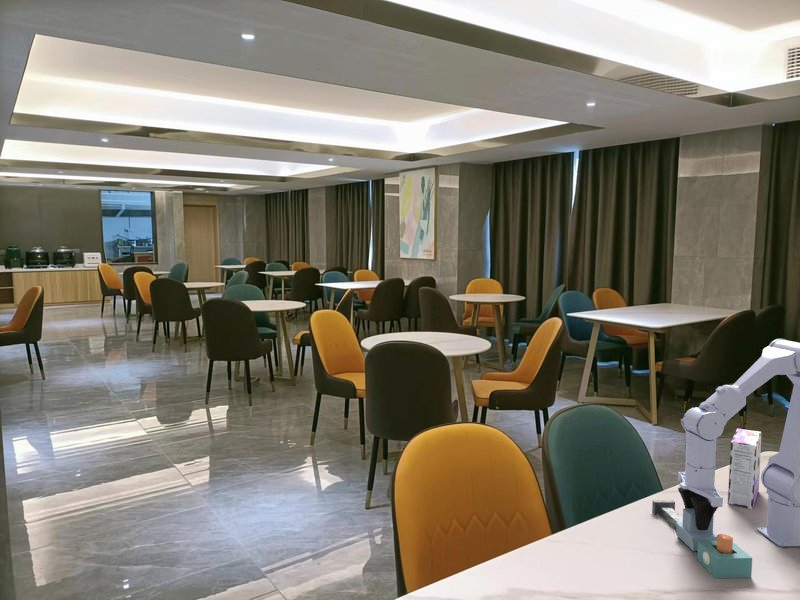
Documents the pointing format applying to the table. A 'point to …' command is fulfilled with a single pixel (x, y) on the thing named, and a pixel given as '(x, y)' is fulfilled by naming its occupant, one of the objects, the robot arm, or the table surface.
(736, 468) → the candy box
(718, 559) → the teal button housing
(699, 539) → the carriage
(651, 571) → the table surface
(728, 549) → the plunger
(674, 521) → the rail
